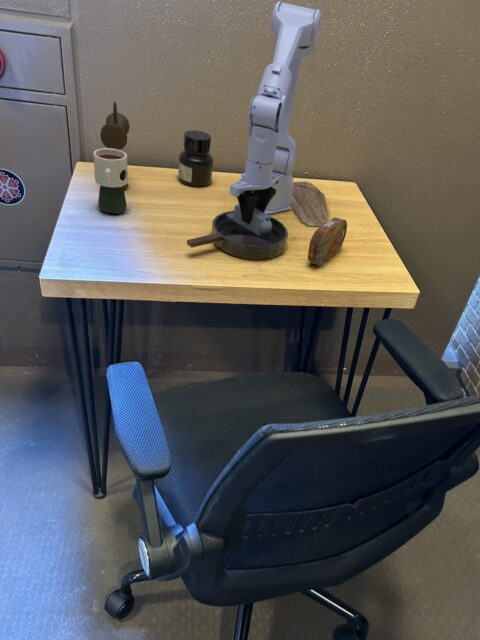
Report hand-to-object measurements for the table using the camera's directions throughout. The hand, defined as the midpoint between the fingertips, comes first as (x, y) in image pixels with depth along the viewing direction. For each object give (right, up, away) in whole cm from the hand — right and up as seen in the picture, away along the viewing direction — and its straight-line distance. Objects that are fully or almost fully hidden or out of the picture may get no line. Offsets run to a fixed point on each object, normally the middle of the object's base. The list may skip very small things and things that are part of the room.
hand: (251, 219), depth 118 cm
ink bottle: (-16, +17, +25) cm, 34 cm away
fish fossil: (+14, +11, +25) cm, 30 cm away
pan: (-1, -4, +4) cm, 5 cm away
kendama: (-34, +12, +14) cm, 39 cm away
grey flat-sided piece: (0, -1, +1) cm, 2 cm away
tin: (+16, -8, +4) cm, 19 cm away
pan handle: (-10, -6, -5) cm, 13 cm away
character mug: (-33, +3, +5) cm, 33 cm away
